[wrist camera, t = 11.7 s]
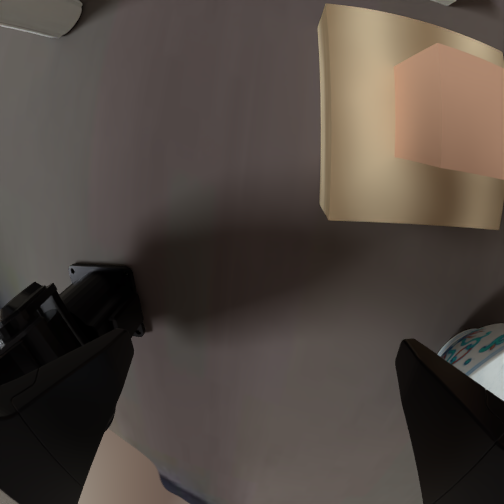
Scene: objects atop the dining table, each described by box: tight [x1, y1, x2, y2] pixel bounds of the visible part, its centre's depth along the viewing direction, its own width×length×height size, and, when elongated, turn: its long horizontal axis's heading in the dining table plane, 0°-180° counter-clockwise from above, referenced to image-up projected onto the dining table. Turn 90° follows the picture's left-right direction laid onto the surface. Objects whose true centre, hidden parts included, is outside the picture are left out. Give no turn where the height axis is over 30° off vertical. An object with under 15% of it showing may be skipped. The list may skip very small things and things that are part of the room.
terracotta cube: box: [394, 43, 504, 180], centre depth 10 cm, size 5×5×5 cm
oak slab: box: [318, 4, 504, 230], centre depth 14 cm, size 12×12×4 cm
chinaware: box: [437, 323, 504, 401], centre depth 19 cm, size 15×15×8 cm
